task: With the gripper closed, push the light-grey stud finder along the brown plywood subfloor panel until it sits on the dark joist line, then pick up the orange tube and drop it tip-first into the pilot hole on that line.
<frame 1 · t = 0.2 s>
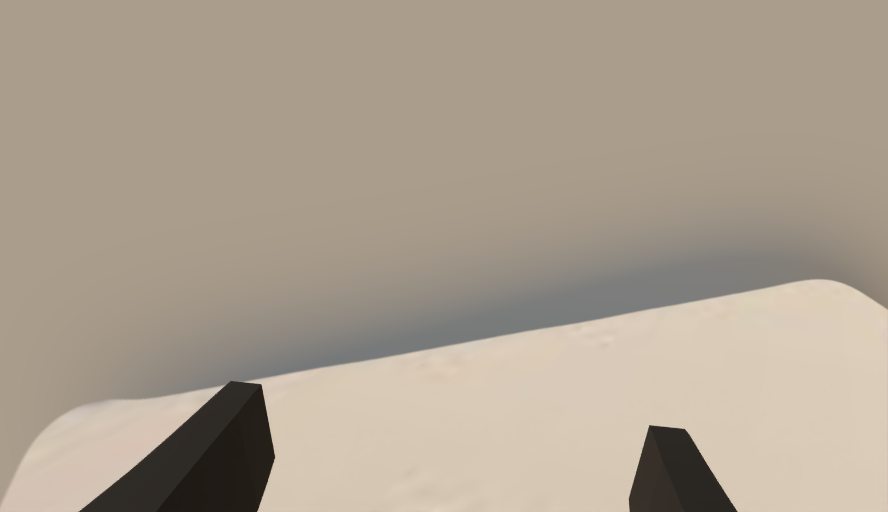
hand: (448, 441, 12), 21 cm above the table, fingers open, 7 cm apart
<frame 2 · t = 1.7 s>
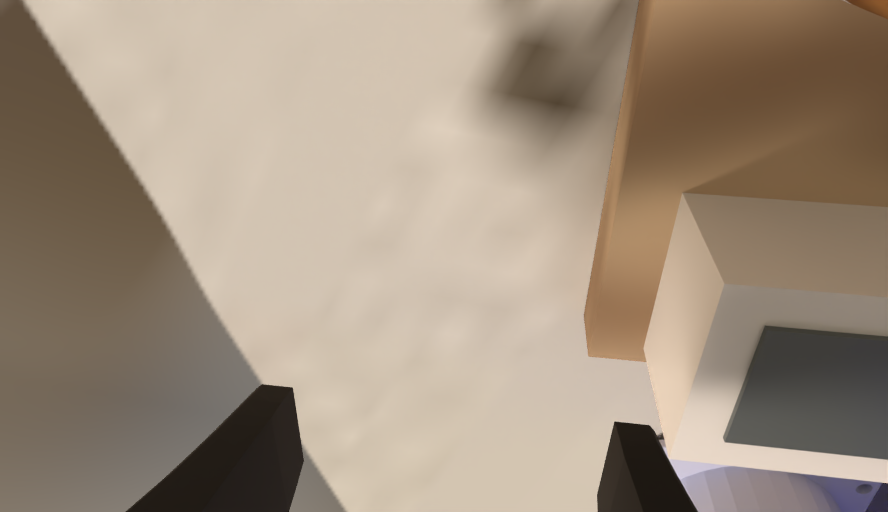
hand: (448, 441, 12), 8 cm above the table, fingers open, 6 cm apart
stud finder: (837, 291, 16), point 2 cm above the table, touching subfloor panel
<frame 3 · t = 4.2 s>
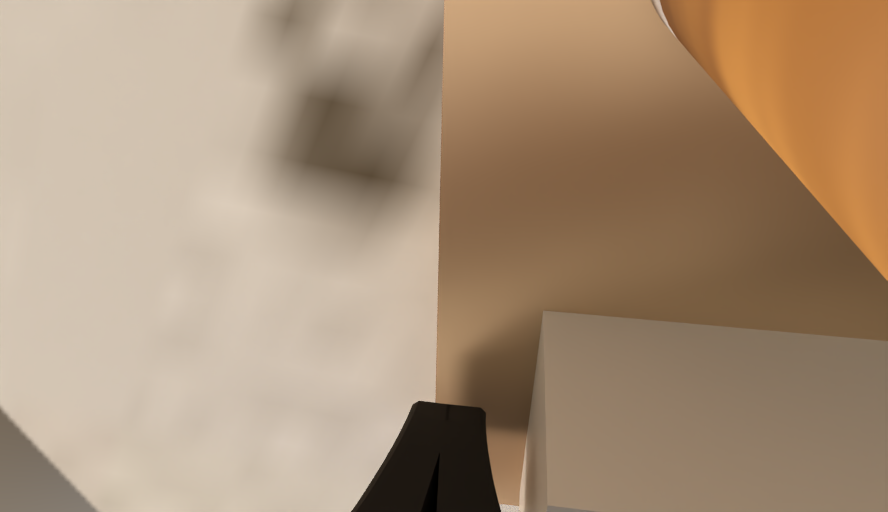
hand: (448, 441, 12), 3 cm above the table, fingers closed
stud finder: (765, 435, 12), point 2 cm above the table, touching gripper, subfloor panel
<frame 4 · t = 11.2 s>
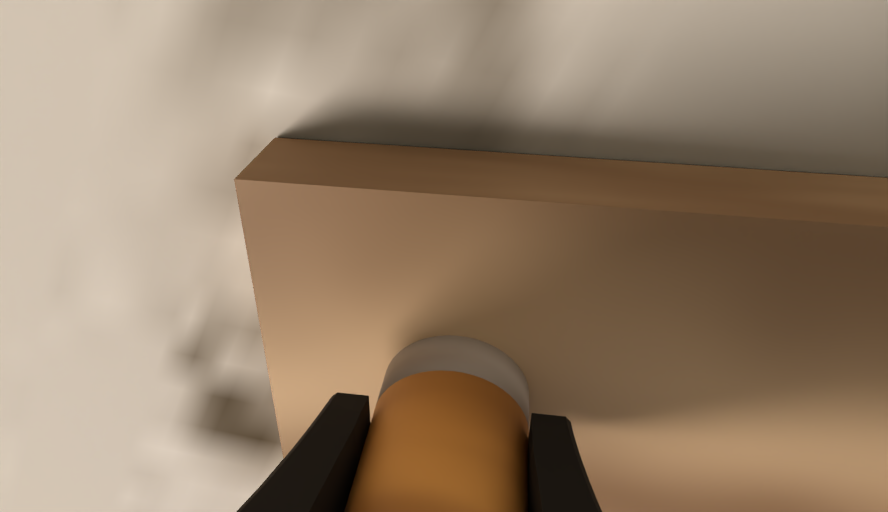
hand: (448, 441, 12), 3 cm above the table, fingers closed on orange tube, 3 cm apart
orange tube: (455, 392, 13), point 2 cm above the table, touching gripper, subfloor panel
subfloor panel: (860, 479, 15), on the table
when the fingers open (3 cm above the table, at t = 15.0 s): orange tube drops 2 cm, resting in subfloor panel.
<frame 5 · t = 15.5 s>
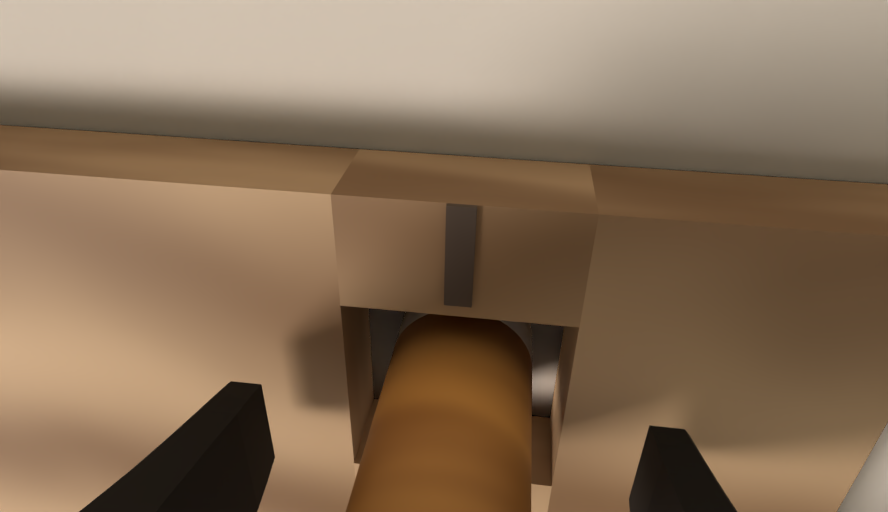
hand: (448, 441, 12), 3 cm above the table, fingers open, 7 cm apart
orange tube: (465, 336, 14), resting in subfloor panel
subfloor panel: (237, 419, 17), on the table
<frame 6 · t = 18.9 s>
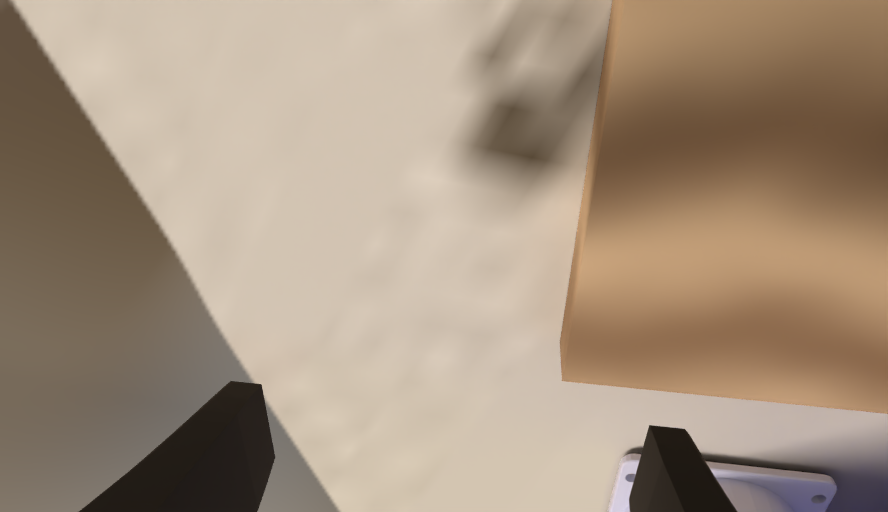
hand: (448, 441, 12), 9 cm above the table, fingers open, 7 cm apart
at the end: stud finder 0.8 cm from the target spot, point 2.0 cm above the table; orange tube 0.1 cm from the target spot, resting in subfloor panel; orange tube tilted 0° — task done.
